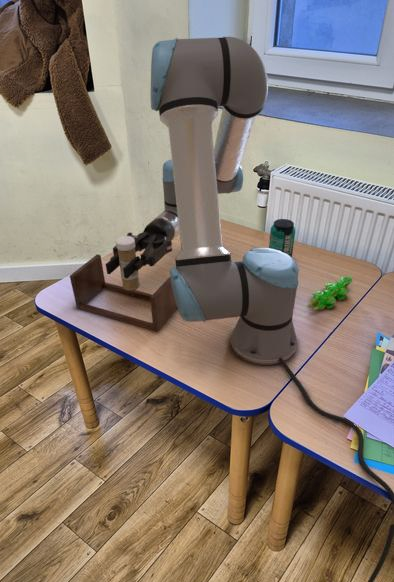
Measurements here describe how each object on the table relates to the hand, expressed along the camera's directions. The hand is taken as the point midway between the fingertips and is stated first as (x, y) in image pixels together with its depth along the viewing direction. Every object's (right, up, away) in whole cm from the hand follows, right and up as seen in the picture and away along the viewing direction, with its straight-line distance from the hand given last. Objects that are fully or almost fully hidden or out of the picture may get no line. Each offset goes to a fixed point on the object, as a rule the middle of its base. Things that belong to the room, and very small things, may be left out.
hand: (116, 271), depth 113 cm
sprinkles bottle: (+2, -3, +9) cm, 9 cm away
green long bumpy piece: (+55, -6, +12) cm, 56 cm away
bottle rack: (+1, -8, +10) cm, 13 cm away
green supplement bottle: (+44, +8, +27) cm, 53 cm away
